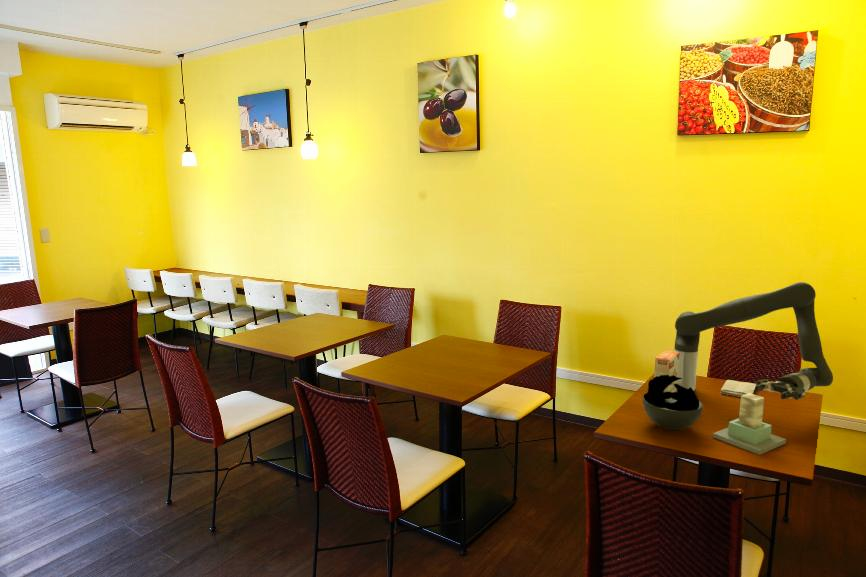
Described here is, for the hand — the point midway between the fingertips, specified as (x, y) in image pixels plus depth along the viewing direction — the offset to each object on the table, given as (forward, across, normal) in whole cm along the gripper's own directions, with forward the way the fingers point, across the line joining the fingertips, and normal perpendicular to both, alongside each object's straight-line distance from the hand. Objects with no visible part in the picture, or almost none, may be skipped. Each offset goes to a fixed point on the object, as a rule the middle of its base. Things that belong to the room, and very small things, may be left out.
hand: (769, 392), depth 198 cm
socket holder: (+11, 0, +15) cm, 18 cm away
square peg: (+11, 0, +13) cm, 17 cm away
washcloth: (-34, -29, +16) cm, 47 cm away
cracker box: (+7, -36, +16) cm, 39 cm away
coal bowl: (+24, -20, +16) cm, 35 cm away
